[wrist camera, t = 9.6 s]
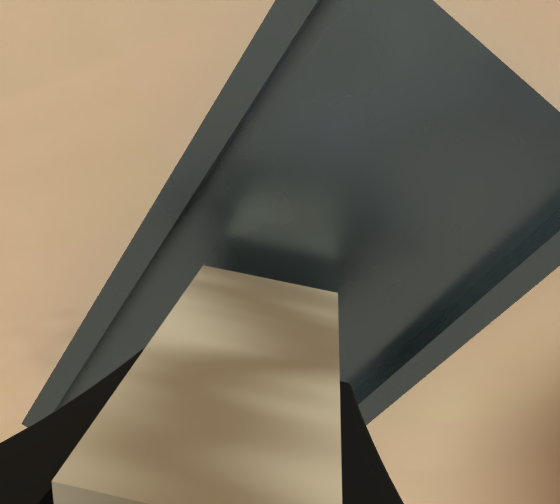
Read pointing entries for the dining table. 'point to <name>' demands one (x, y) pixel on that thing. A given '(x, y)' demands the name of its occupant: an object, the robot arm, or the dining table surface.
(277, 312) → the peg
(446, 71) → the tray
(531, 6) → the dining table surface
